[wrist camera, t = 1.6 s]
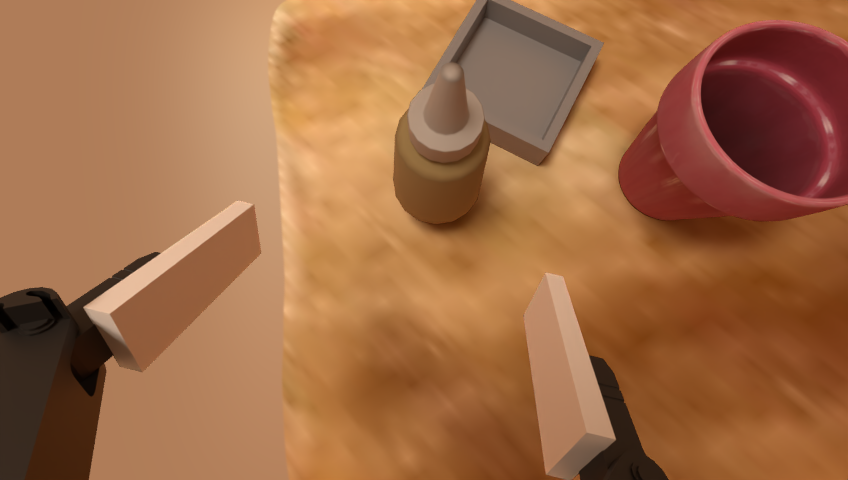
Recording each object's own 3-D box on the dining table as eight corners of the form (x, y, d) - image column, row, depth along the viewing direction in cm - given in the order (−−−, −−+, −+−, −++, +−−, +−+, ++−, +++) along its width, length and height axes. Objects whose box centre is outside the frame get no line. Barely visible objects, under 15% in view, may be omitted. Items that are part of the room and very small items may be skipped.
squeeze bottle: (490, 196, 33) (570, 77, 15) (433, 248, 32) (448, 185, 14) (437, 143, 34) (454, -25, 17) (380, 192, 33) (333, 67, 15)
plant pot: (683, 99, 35) (828, -11, 23) (754, 212, 33) (958, 159, 21) (569, 144, 34) (655, 54, 22) (634, 265, 32) (772, 242, 19)
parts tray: (589, 63, 36) (604, 42, 33) (537, 165, 34) (548, 152, 31) (478, 12, 37) (483, -12, 34) (421, 107, 35) (421, 90, 32)
